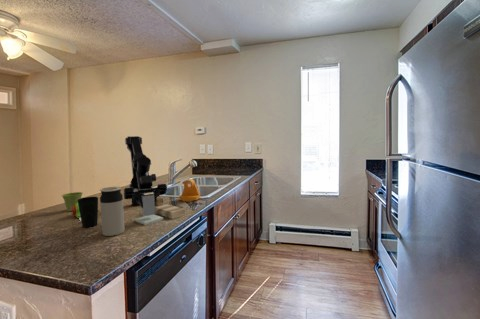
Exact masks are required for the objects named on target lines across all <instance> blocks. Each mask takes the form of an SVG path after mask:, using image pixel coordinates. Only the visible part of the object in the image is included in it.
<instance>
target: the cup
mask: <svg viewBox="0 0 480 319" xmlns="http://www.w3.org/2000/svg"><path fill="white" fill-rule="evenodd" d="M78 206H79V211H80V216H81V221H82V223H81V224H82V228H83V227H84V228H83V229H90V228H89V227H92V228H95V227H96V226H98V220H99V219H98V218H99V216H98V214H99V212H98V211H99V197H98V196H87V197H86V196H85V197H81V199H78ZM94 226H95V227H94Z"/></svg>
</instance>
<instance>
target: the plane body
mask: <svg viewBox="0 0 480 319" xmlns="http://www.w3.org/2000/svg"><path fill="white" fill-rule="evenodd" d="M185 211H186V209H185V208H182V207H178V206H174V205H171V204H167V203H164V198H163V197H160V196H158V197H157V199H156V206H155V215H158V216H161V217H162V216H163V217H166V218H169V219H171V220H172V219H173V220H174V219H177V218H179V217H180V218H181V217H184V216H186V212H185Z"/></svg>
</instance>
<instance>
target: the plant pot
mask: <svg viewBox="0 0 480 319" xmlns="http://www.w3.org/2000/svg"><path fill="white" fill-rule="evenodd" d="M82 195H83V192H81V191H77V192H76V191H75V192H68V193H63V194H61V197H62V199H63V201H64V204H65V207H66V211H67V212H72V207H74V206H75V204H77V203H78V199H81V198H83V196H82Z"/></svg>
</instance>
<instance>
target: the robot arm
mask: <svg viewBox="0 0 480 319" xmlns="http://www.w3.org/2000/svg"><path fill="white" fill-rule="evenodd" d="M124 143H125V145H126V149H127V150H128V151H129V152H130V162H131V170H132V171H131V172H132V178H131V180H130V183H129V187H124V188H123V199H124V200H131V205H130V206H131V207H135V206H140V208H141V209H142V208H143V203H142V197H141V195H145V194H154V202H155V206H156V199H157V198H158V197H160V196H163V195H166V194H167V190H168V185H167V184H166V183H158V184H157V187H153V182H156V181H157V175H156V173H152V174H150V173H149V172H150V168H151V165H152V161H151V159H150V158H149V157H148V156H147V155H145V154H144V152H143V148H142V145H143V138H142V137H141V136H135V135H134V136H127V137H125V139H124Z"/></svg>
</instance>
